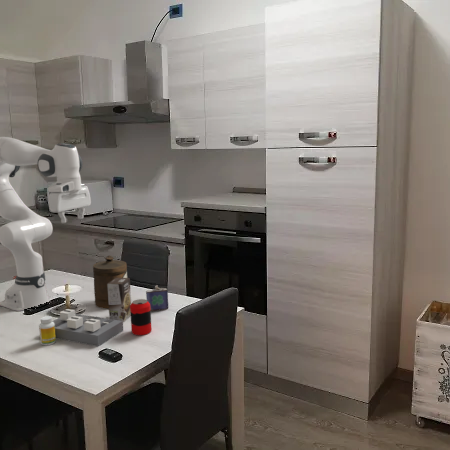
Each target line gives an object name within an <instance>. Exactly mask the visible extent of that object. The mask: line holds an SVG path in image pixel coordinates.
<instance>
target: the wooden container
mask: <svg viewBox="0 0 450 450" xmlns="http://www.w3.org/2000/svg"><path fill="white" fill-rule="evenodd" d="M127 265H128V264H127V262H126V261H123V260H117V259H115V260H114V256H113V255H107V256H106V257H105V261H103V260H102V261H98V262H96V263H94V264H93V266H92V270H93V272H92V273H93V292H94V293H93V294H94V305H95V307H97V308H99V309H105V310H106V309H107V310H109V303H108V285H107V284H108V283H109V282H111V281H112V280H114V279H115V278H128V270H127V269H128V266H127Z"/></svg>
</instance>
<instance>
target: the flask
mask: <svg viewBox="0 0 450 450" xmlns="http://www.w3.org/2000/svg"><path fill="white" fill-rule="evenodd" d="M158 286H159V285H157V284H156V285H155V286H154V288H153V289H148V290H146V291H145V293H146V294H145V296H146V297H145V298H146V300H147V301H148V302H149V303H150V309H151V312H158V311H166V310H169V292H168V291H169V290H168V289H167V288H164V287H158Z"/></svg>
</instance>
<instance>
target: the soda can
mask: <svg viewBox="0 0 450 450" xmlns="http://www.w3.org/2000/svg"><path fill="white" fill-rule="evenodd" d="M151 313H152V311H151V309H150V303H149V302H148V301H147V299H142V298H141V299H135V300H133V301H131V305H130V314H131V316H130V326H131V327H130V328H131V333H132V334H133V335H134V336H144V335H148V334H150V333H151V332H152V315H151Z"/></svg>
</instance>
